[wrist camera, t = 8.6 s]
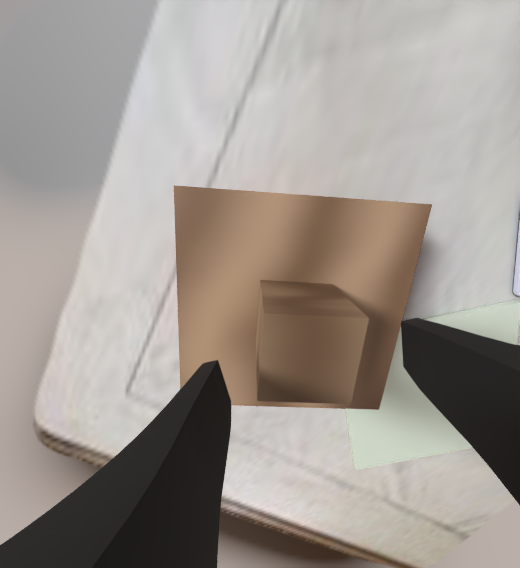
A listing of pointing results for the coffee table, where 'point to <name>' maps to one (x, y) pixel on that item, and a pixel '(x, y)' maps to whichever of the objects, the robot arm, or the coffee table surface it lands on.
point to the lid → (294, 293)
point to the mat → (421, 399)
